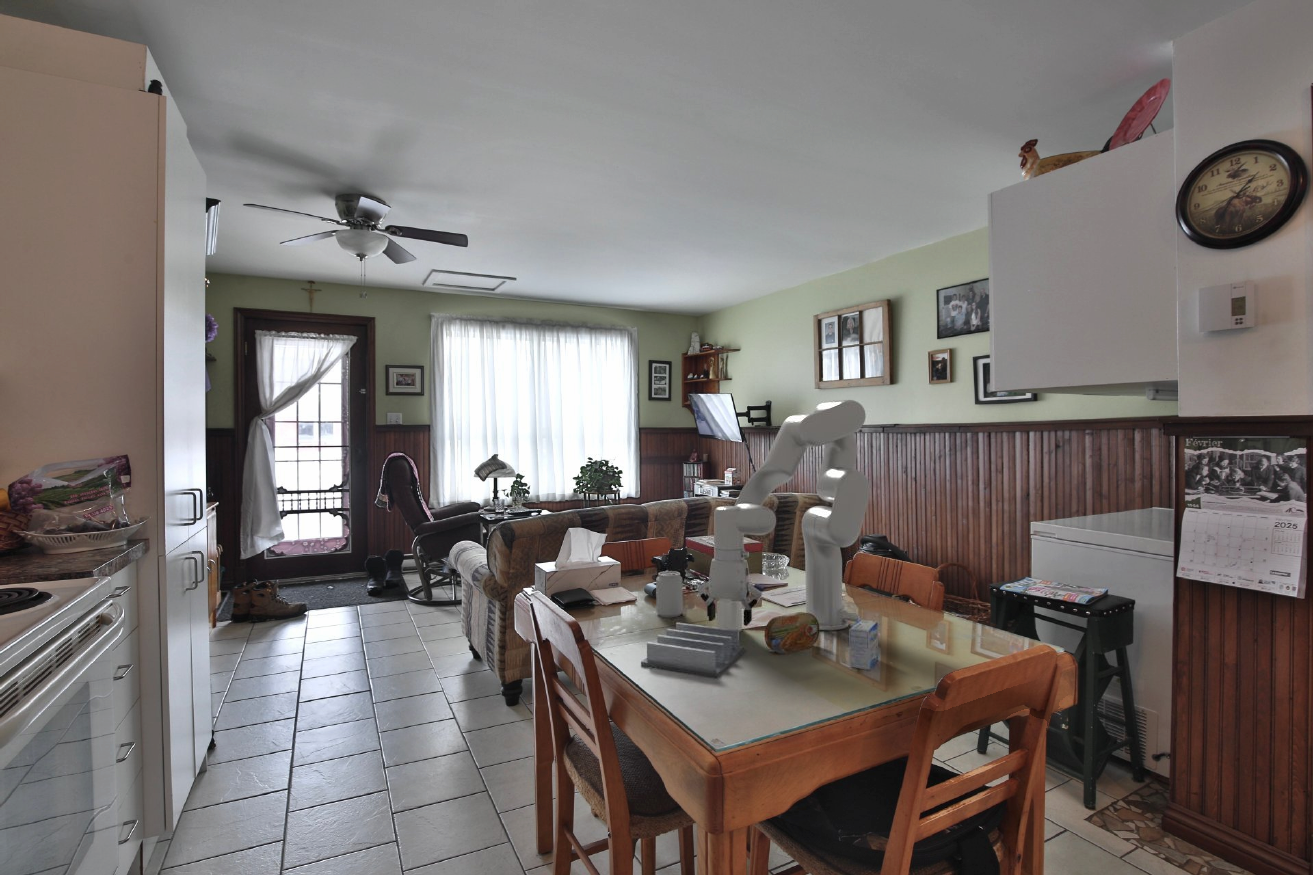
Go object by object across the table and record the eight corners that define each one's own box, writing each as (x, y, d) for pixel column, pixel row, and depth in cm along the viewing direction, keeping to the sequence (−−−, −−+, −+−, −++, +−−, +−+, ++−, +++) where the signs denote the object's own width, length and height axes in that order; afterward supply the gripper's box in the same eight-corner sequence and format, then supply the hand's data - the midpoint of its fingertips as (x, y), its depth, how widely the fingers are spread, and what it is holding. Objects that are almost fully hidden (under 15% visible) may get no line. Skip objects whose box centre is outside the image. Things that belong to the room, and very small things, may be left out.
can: (680, 618, 181) (679, 576, 181) (654, 617, 183) (653, 575, 183) (684, 611, 189) (684, 570, 188) (659, 610, 190) (658, 569, 190)
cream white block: (742, 629, 171) (741, 591, 171) (726, 643, 160) (726, 602, 160) (733, 628, 172) (732, 590, 172) (717, 641, 161) (716, 601, 161)
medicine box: (869, 671, 141) (869, 631, 140) (849, 667, 143) (848, 628, 143) (878, 659, 147) (878, 621, 147) (858, 656, 150) (858, 618, 150)
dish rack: (744, 650, 155) (744, 629, 155) (716, 678, 137) (716, 654, 137) (675, 640, 162) (675, 620, 162) (641, 666, 145) (640, 643, 145)
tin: (770, 656, 150) (770, 620, 150) (762, 652, 153) (761, 617, 153) (820, 645, 157) (820, 611, 157) (812, 642, 160) (811, 608, 160)
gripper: (766, 554, 166) (766, 622, 166) (702, 549, 173) (703, 614, 173) (757, 560, 159) (757, 630, 159) (691, 554, 166) (692, 621, 166)
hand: (729, 621), depth 166 cm, fingers open, 9 cm apart
